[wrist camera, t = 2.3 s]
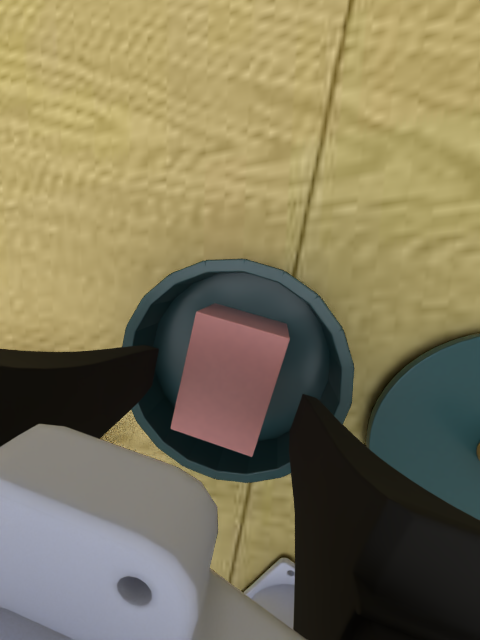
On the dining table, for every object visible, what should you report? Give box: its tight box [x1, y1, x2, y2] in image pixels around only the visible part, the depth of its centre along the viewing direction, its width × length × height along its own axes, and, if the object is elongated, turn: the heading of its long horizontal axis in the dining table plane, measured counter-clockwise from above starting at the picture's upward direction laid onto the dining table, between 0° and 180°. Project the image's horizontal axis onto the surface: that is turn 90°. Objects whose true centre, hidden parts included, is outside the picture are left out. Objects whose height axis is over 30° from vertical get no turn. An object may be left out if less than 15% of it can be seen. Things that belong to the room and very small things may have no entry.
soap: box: [171, 303, 290, 457], centre depth 13 cm, size 4×6×3 cm
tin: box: [122, 259, 354, 483], centre depth 14 cm, size 12×12×3 cm
